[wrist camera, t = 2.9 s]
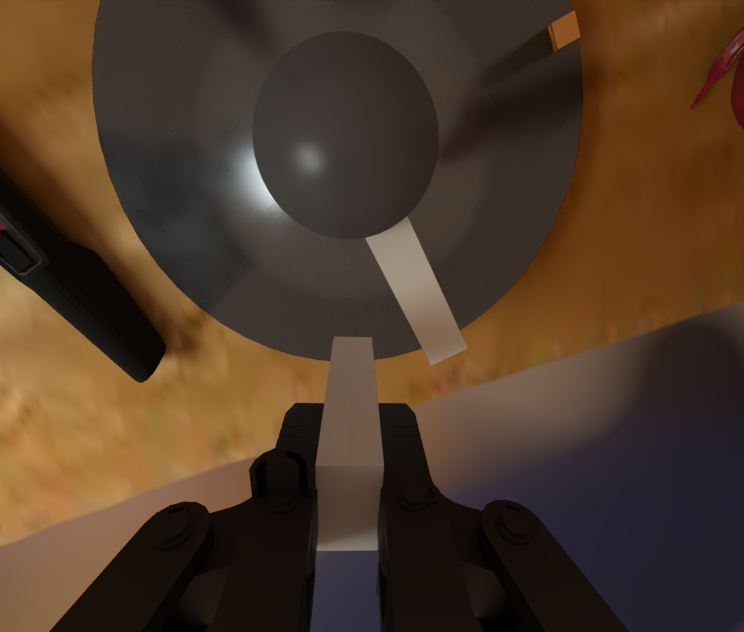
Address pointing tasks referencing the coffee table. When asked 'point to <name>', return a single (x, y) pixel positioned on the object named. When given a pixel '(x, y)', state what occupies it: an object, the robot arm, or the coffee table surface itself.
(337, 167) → the dial
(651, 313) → the coffee table surface
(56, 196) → the coffee table surface
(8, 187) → the electric trimmer
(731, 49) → the decorative bird figurine
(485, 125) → the dial plate
